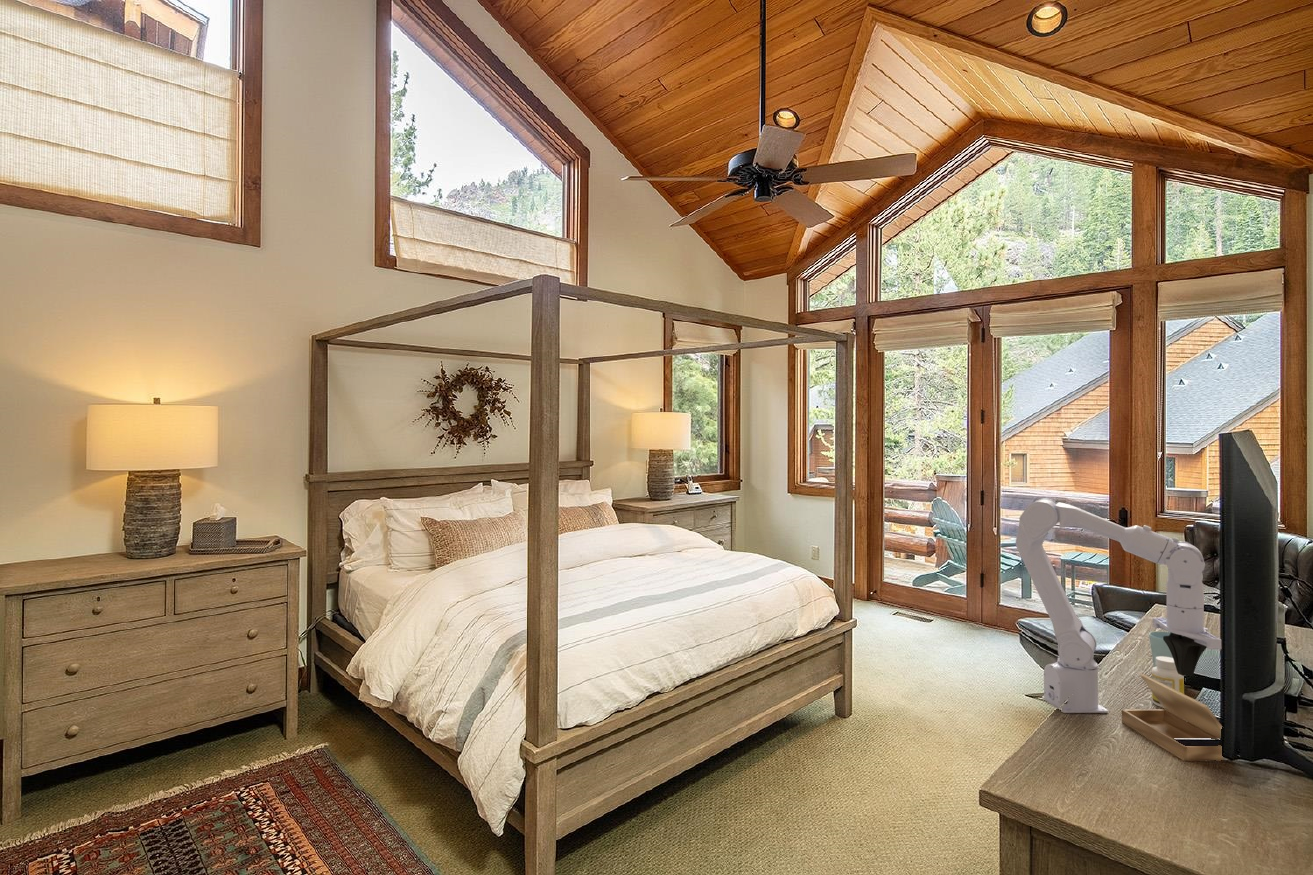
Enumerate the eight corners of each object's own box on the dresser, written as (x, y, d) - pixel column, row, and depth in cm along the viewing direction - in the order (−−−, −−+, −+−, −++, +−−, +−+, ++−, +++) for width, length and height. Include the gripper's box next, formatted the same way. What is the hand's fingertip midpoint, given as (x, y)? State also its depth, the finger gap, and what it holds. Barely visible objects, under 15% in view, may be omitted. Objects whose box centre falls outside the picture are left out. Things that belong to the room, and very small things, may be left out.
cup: (1200, 686, 151) (1199, 640, 151) (1168, 687, 150) (1167, 641, 150) (1172, 674, 158) (1171, 630, 158) (1141, 675, 158) (1140, 631, 158)
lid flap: (1204, 707, 117) (1207, 705, 117) (1139, 674, 133) (1141, 673, 133) (1232, 746, 117) (1235, 744, 117) (1164, 708, 133) (1166, 707, 133)
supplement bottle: (1173, 700, 143) (1172, 655, 143) (1190, 710, 138) (1190, 663, 138) (1146, 699, 143) (1145, 654, 143) (1162, 710, 138) (1162, 663, 138)
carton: (1184, 761, 117) (1184, 746, 117) (1121, 721, 133) (1121, 709, 133) (1233, 760, 117) (1233, 746, 117) (1164, 721, 133) (1164, 709, 133)
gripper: (1237, 615, 123) (1238, 688, 123) (1176, 596, 137) (1176, 661, 137) (1199, 615, 123) (1200, 688, 123) (1142, 596, 137) (1142, 661, 137)
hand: (1185, 674), depth 130 cm, fingers closed
